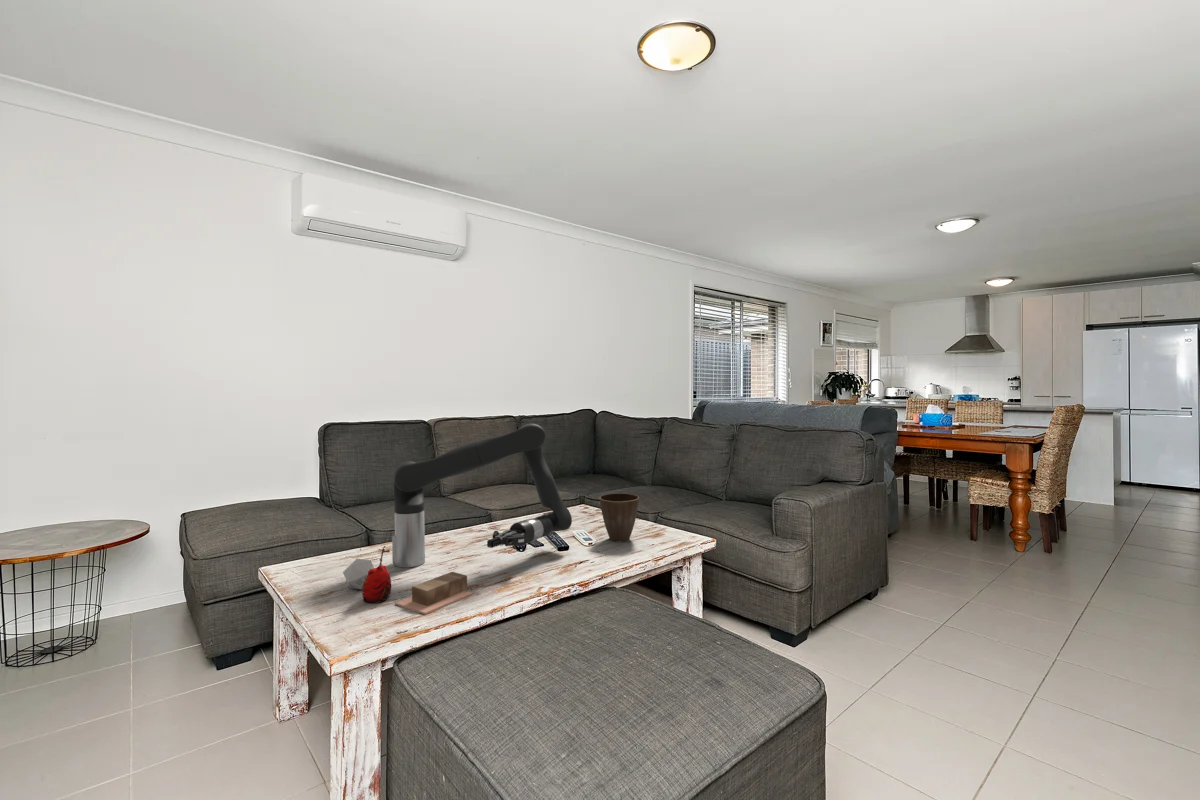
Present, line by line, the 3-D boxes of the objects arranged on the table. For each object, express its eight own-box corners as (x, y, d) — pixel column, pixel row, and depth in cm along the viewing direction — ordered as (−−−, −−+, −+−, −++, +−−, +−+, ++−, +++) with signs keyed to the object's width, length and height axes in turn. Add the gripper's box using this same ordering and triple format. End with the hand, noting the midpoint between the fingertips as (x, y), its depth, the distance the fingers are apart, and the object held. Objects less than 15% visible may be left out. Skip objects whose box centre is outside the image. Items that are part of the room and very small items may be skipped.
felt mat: (442, 586, 160) (442, 584, 160) (471, 594, 153) (471, 592, 153) (395, 604, 146) (395, 602, 146) (425, 614, 140) (425, 612, 140)
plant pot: (626, 547, 197) (626, 502, 197) (591, 541, 206) (591, 498, 205) (646, 537, 210) (646, 495, 210) (612, 532, 218) (612, 491, 218)
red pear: (380, 592, 155) (379, 539, 154) (397, 597, 152) (397, 543, 151) (356, 602, 148) (356, 546, 148) (375, 607, 145) (374, 550, 144)
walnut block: (452, 571, 159) (411, 586, 147) (466, 575, 156) (426, 591, 144) (452, 585, 159) (412, 601, 147) (467, 589, 156) (427, 606, 144)
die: (347, 597, 153) (369, 569, 154) (331, 577, 157) (352, 549, 158) (367, 598, 160) (388, 570, 161) (351, 578, 164) (372, 552, 165)
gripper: (511, 517, 185) (473, 528, 170) (542, 522, 178) (505, 535, 163) (511, 539, 185) (473, 553, 171) (542, 545, 178) (505, 560, 163)
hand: (489, 544), depth 167 cm, fingers closed
